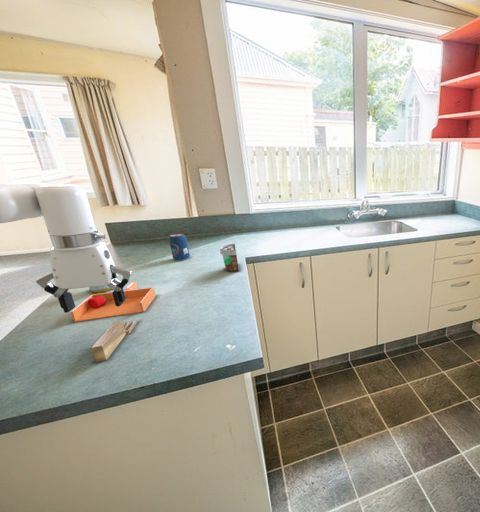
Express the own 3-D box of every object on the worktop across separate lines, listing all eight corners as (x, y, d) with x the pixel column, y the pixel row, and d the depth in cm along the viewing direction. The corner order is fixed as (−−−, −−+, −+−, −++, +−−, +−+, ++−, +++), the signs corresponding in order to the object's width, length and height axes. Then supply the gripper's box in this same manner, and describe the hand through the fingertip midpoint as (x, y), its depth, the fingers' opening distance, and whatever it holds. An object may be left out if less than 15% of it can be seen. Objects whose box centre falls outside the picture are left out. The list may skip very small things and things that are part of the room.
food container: (223, 265, 135) (219, 244, 131) (237, 263, 137) (234, 243, 134) (223, 274, 124) (219, 252, 121) (239, 272, 127) (235, 250, 124)
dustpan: (144, 312, 94) (141, 302, 93) (74, 322, 87) (70, 312, 86) (163, 285, 113) (161, 277, 112) (107, 292, 107) (105, 283, 106)
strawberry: (96, 299, 93) (107, 294, 97) (86, 298, 94) (98, 293, 97) (99, 309, 94) (110, 303, 98) (89, 308, 95) (101, 302, 98)
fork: (91, 362, 70) (86, 348, 69) (122, 325, 86) (118, 312, 85) (110, 359, 71) (106, 345, 70) (137, 322, 87) (134, 310, 86)
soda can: (169, 260, 141) (164, 235, 138) (183, 256, 148) (178, 232, 144) (180, 261, 139) (175, 237, 136) (193, 257, 146) (189, 233, 142)
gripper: (129, 234, 74) (143, 295, 79) (35, 238, 68) (58, 305, 73) (116, 241, 67) (133, 308, 73) (11, 247, 61) (38, 320, 66)
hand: (95, 306), depth 73 cm, fingers open, 9 cm apart
